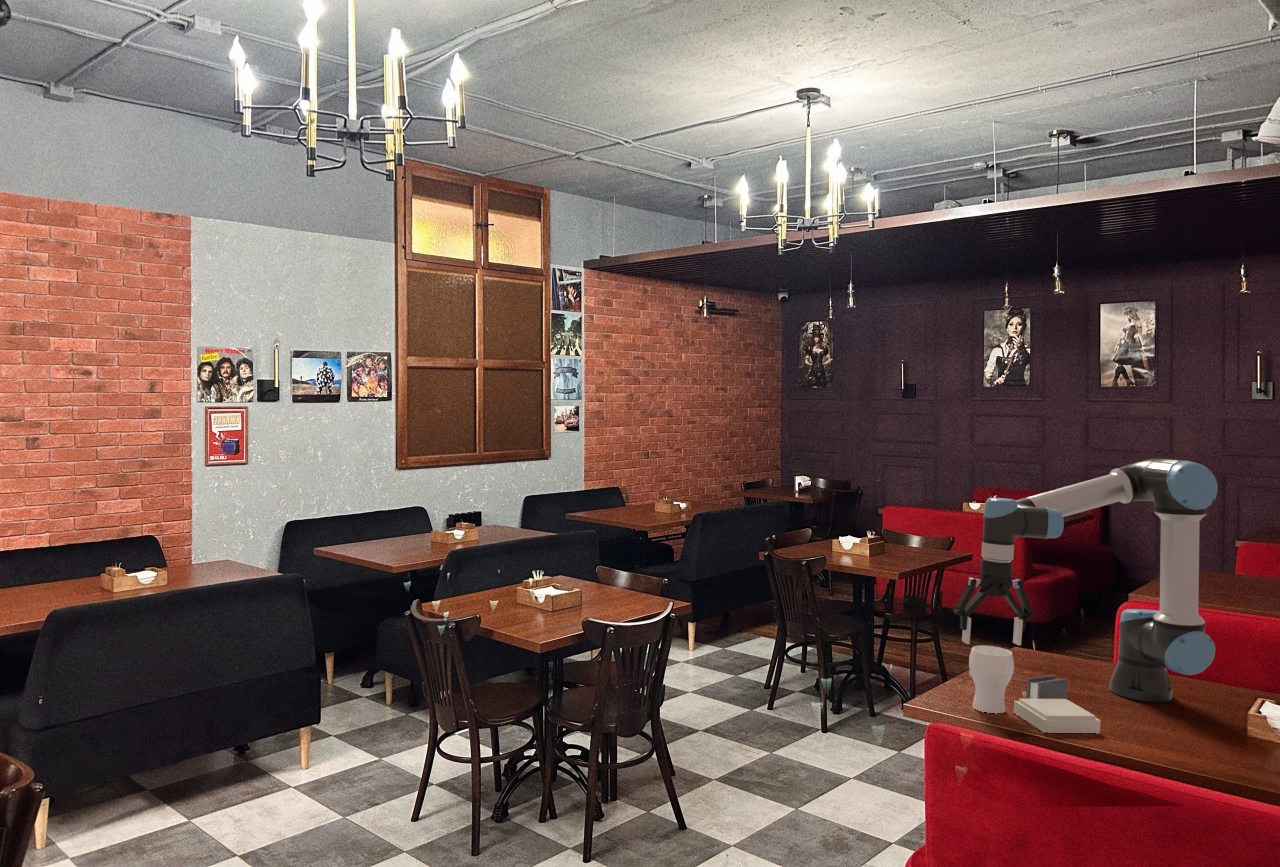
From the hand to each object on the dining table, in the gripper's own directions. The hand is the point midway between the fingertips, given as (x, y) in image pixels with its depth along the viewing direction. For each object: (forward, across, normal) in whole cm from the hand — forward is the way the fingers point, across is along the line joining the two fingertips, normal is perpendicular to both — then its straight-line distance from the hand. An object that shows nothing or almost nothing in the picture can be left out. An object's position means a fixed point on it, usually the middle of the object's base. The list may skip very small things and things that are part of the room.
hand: (991, 643), depth 233 cm
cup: (+17, 0, 0) cm, 17 cm away
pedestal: (+17, -12, +10) cm, 23 cm away
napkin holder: (+17, -18, -3) cm, 24 cm away
